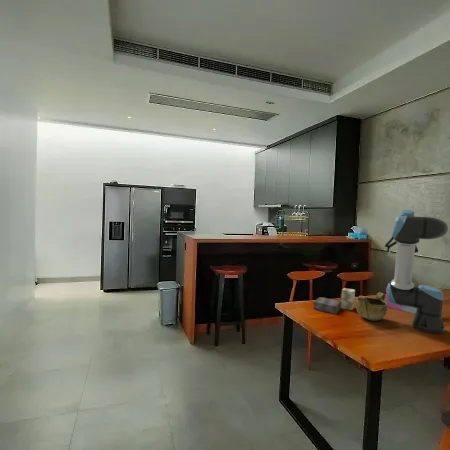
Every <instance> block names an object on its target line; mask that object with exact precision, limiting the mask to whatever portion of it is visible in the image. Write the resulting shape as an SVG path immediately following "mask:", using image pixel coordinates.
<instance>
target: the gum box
mask: <svg viewBox="0 0 450 450" xmlns="http://www.w3.org/2000/svg"><path fill="white" fill-rule="evenodd" d="M385 290H386V291H385V292H386V294H385V302H386V303H387V308H388V307H389V308H392V309H396V310H399V311H403V312H406V313H410V314H414V315H415V314H416V312H417V308H414V307H408V306H403V305H396V304H392V303H390V302H389V299H388V286H386V289H385Z"/></svg>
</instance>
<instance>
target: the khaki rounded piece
mask: <svg viewBox="0 0 450 450" xmlns="http://www.w3.org/2000/svg"><path fill="white" fill-rule="evenodd" d="M385 300H386V294H385V293H383V292H381V291H380V292H377V294H376V295H375V297H368V296H364V295H359V296H357V297H356V301H355V309H356V312H357V313H358V315H360V316H361V317H362V318H364V319H365V320H368V321H371V322H375V321H379V320H382V319H383V318H385V316H386V314H387V311H388V306H387V303H386V301H385Z"/></svg>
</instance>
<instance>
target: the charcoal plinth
mask: <svg viewBox="0 0 450 450" xmlns="http://www.w3.org/2000/svg"><path fill="white" fill-rule="evenodd" d="M341 309H342V308H341V300H337V299H332V298H327V297H321V296H319V297H318V298H317V299H315V300H314V301H313V310H316V311H321V312H326V313H331V314H334V315H337V313H338V312H339V311H340V310H341Z"/></svg>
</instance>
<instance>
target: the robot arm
mask: <svg viewBox="0 0 450 450" xmlns="http://www.w3.org/2000/svg"><path fill="white" fill-rule="evenodd" d="M448 231H449V226H448V224H447V222H446V221H444V220H443V219H439V218H437V217H431V216H416V215H415V211H414V210H411V209H402V211H401V212H400V215H398V216H396V217H395V218H394V222H393V226H392V232H391V238H390V239H389V240H388V241H387V242H386V243H385V245H384V247H385V248H387V249H386V252H387V253H388V254H387V257H390V255H391V250H392V249H391V248H392V247H393V246H396V254H395V265H394V278H393V279H391V281H390V282H388V284H387V287H388V299H389V302H390V303H392V304H396V305H403V306H408V307H414V308H417V312H416V314H414V316H413V319H412V320H411V326H412V327H413V329H416V330H419V331H422V332H425V333H430V334H435V335H436V334H437V335H438V334H439V335H440V334H441V335H442V334H444V333H445V325H444V322H443V319H442V318H443V317H442V316H443V303H444V293H443V291H442V290H440V289H438V288H436V287H433V286H430V285H426V284H425V285H424V284H419V285H418V287H417V286H415V283H414V282H412V281H413V270H414V264H415V262H414V261H415V253H419V249H418V246H417V245H418V244H419V243H420V240H435V239H439V238H442V237H444V236H445V235H447V232H448ZM393 240H394V241H393ZM392 241H393V242H392Z"/></svg>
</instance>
